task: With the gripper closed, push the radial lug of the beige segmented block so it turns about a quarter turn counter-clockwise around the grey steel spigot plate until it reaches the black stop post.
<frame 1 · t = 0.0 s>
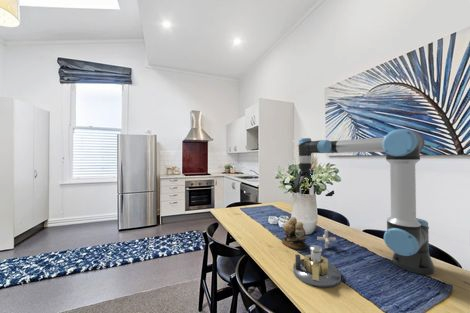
hand: (305, 196, 130), 28 cm above the table, fingers open, 13 cm apart
owl figurine: (294, 245, 124), on the table
pipe connector: (326, 247, 120), on the table
beige segmented block: (316, 262, 93), point 5 cm above the table, hinge at 0.0°
spigot plate: (316, 273, 93), on the table
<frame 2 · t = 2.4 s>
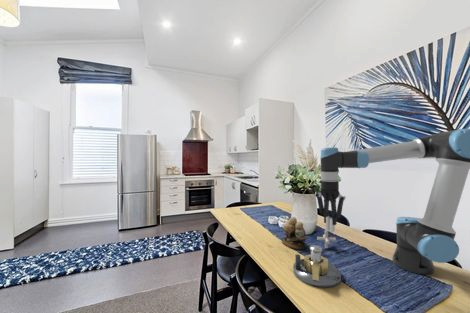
hand: (330, 230, 96), 18 cm above the table, fingers closed
nothing on the table moved.
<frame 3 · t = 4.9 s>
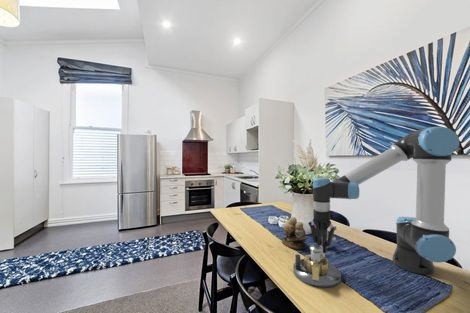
hand: (322, 258, 99), 4 cm above the table, fingers closed
beige segmented block: (316, 262, 93), point 5 cm above the table, hinge at 0.0°, touching gripper
everything else where it was.
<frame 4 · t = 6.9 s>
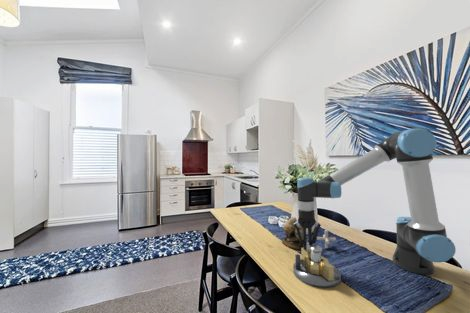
hand: (308, 257, 101), 4 cm above the table, fingers closed
beige segmented block: (316, 262, 93), point 5 cm above the table, hinge at 39.2°, touching gripper
everything else where it was.
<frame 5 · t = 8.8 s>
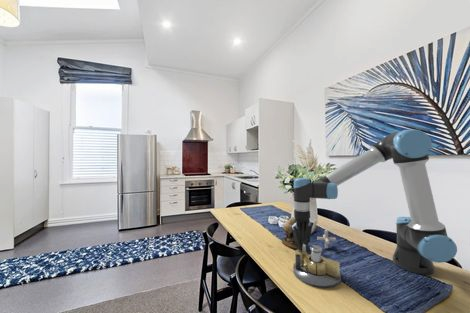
hand: (302, 257, 100), 4 cm above the table, fingers closed
beige segmented block: (316, 262, 93), point 5 cm above the table, hinge at 70.9°, touching gripper
everything else where it was.
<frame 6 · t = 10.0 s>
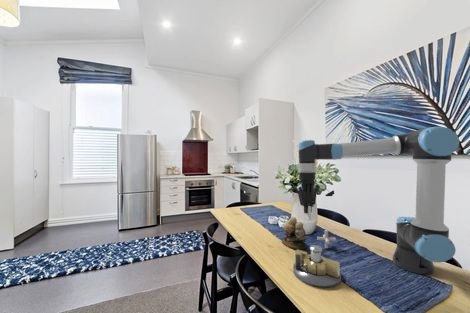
hand: (308, 219, 101), 22 cm above the table, fingers closed
beige segmented block: (316, 262, 93), point 5 cm above the table, hinge at 70.9°
everything else where it was.
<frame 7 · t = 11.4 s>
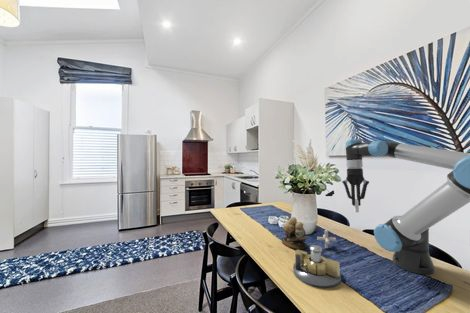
hand: (356, 211, 111), 23 cm above the table, fingers closed
nothing on the table moved.
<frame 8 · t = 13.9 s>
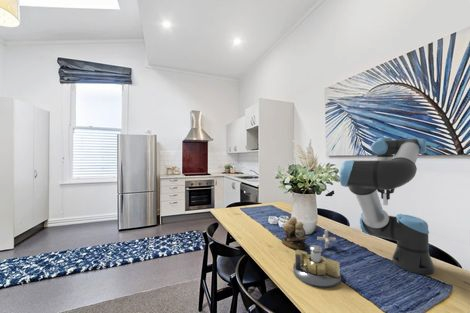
hand: (385, 204, 120), 24 cm above the table, fingers closed
nothing on the table moved.
at the end: beige segmented block at +71° (first picture: +0°) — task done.
